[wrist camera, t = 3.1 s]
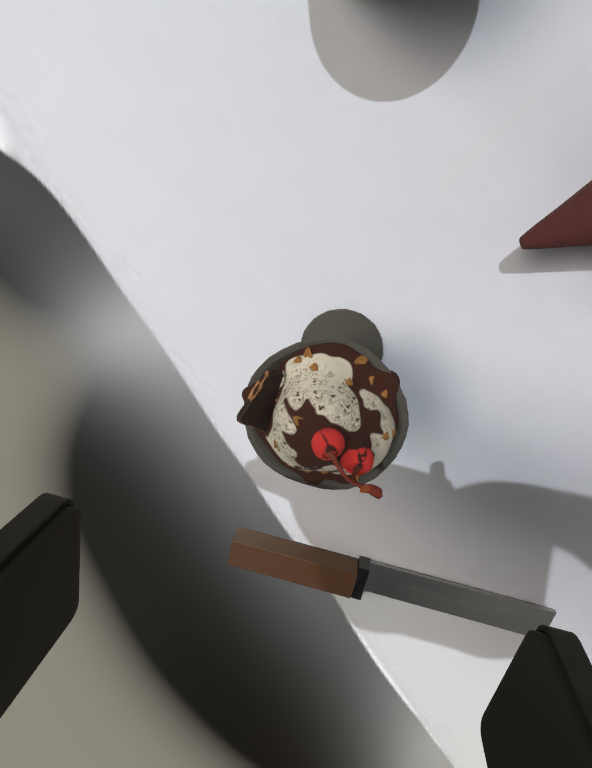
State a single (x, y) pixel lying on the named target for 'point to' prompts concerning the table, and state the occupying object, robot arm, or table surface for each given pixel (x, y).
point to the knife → (379, 581)
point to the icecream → (564, 224)
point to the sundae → (328, 406)
